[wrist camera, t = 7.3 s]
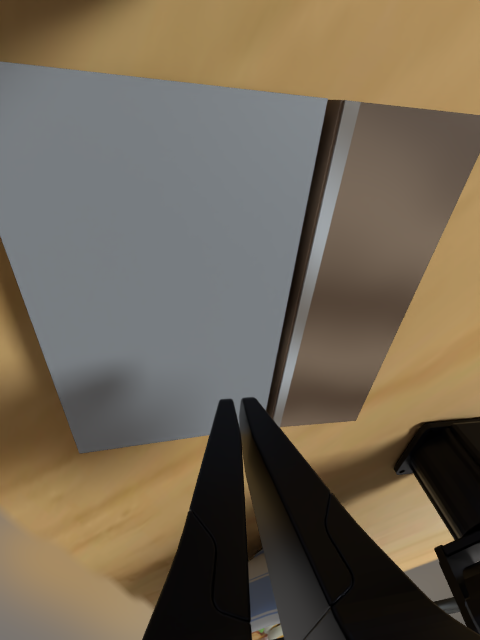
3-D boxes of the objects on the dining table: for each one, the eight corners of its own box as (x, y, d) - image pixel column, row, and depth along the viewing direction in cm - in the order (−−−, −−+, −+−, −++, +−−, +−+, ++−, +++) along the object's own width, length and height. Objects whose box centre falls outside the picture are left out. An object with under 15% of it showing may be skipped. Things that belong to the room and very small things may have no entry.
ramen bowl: (183, 603, 40) (183, 703, 33) (157, 526, 27) (149, 666, 20) (365, 567, 43) (398, 651, 37) (423, 482, 30) (491, 590, 23)
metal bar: (346, 403, 21) (356, 422, 19) (264, 409, 20) (269, 429, 18) (465, 115, 12) (499, 117, 10) (324, 100, 11) (342, 100, 9)
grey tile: (257, 411, 19) (262, 427, 19) (83, 433, 17) (79, 453, 16) (311, 98, 10) (327, 98, 9) (-41, 59, 8) (-66, 54, 7)
